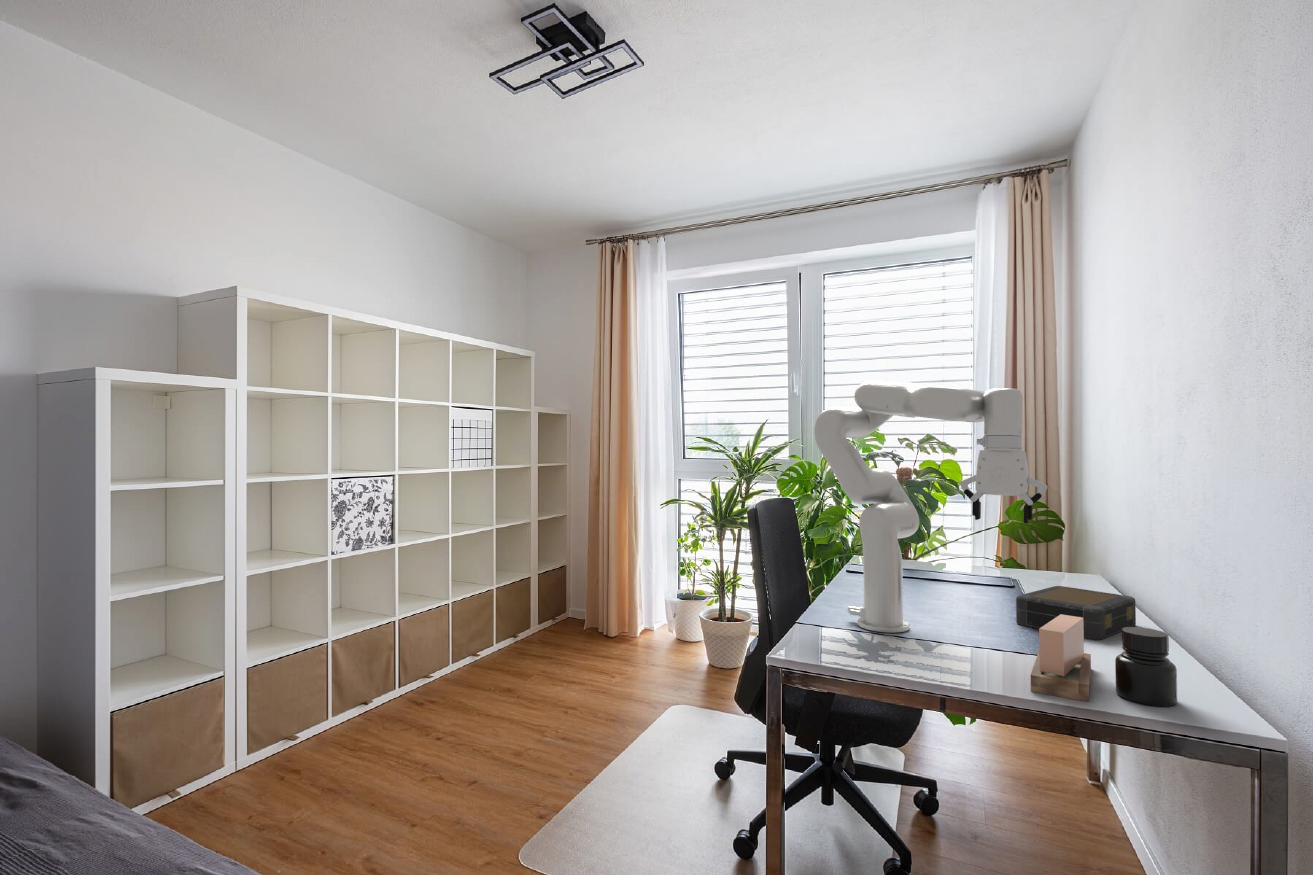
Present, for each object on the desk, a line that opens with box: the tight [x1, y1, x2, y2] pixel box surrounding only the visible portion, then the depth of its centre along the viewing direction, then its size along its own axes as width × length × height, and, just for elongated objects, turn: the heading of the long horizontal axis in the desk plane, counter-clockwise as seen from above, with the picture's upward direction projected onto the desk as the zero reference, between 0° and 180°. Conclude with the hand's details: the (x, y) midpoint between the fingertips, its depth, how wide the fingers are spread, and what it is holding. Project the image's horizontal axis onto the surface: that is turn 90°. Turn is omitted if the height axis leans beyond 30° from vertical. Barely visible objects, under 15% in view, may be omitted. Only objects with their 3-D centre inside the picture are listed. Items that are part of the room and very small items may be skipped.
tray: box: [1030, 651, 1092, 703], centre depth 127 cm, size 9×22×3 cm, turn 145°
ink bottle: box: [1114, 626, 1178, 707], centre depth 118 cm, size 10×9×12 cm
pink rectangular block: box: [1038, 614, 1085, 676], centre depth 128 cm, size 4×16×8 cm, turn 136°
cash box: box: [1015, 585, 1137, 641], centre depth 170 cm, size 25×20×8 cm
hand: (1001, 521), depth 144 cm, fingers open, 9 cm apart
